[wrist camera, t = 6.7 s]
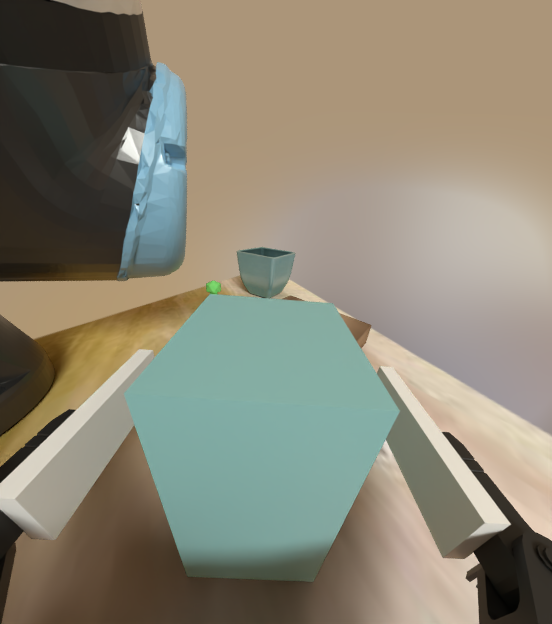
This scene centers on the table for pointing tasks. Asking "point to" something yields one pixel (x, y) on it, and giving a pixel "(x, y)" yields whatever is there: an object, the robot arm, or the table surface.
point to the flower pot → (265, 270)
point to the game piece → (213, 287)
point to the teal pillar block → (259, 434)
